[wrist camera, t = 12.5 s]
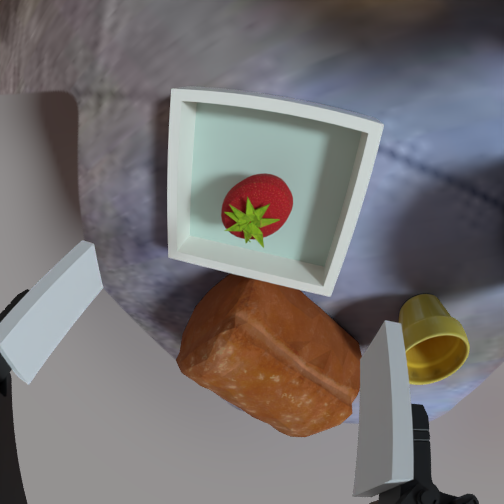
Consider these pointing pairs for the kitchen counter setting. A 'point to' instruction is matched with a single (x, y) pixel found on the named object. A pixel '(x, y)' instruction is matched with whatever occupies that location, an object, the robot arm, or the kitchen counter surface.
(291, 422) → the bread
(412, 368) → the plant pot
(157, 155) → the kitchen counter surface
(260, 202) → the strawberry
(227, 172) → the serving bin
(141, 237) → the kitchen counter surface
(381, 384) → the robot arm
